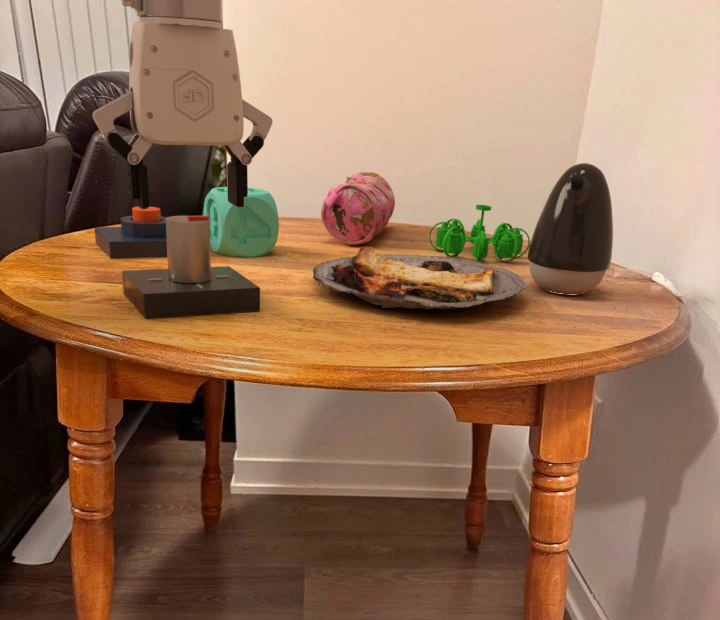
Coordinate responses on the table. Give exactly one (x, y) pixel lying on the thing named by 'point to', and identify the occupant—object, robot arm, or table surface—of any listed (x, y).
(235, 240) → the decorative dice
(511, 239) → the chandelier
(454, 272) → the food plate
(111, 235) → the button box
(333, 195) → the pencil case
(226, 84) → the robot arm
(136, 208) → the button
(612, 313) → the table surface
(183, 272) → the knob
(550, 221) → the black egg-shaped diffuser
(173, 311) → the knob console
